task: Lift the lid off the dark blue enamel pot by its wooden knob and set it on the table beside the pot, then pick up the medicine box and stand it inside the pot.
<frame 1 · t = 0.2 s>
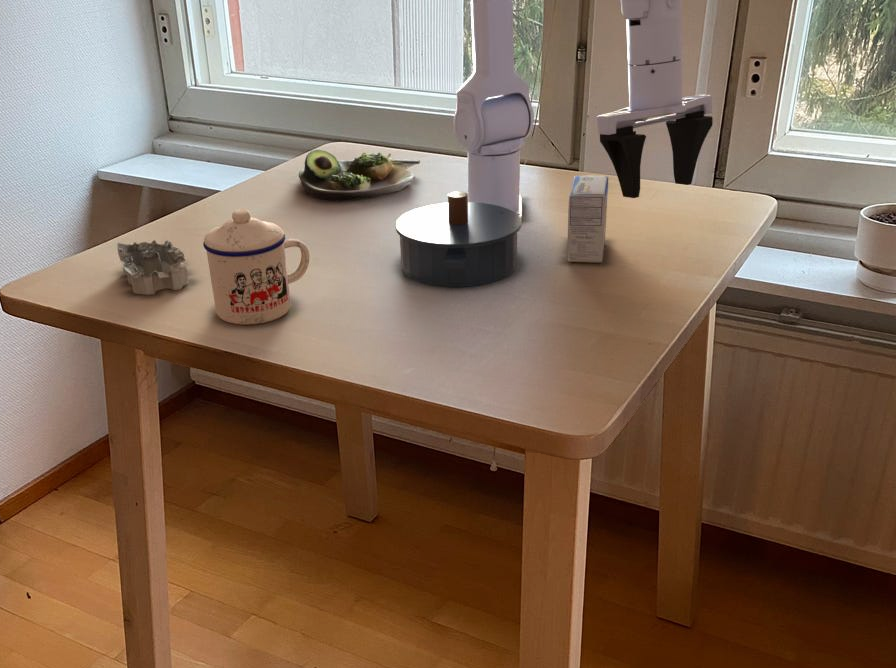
hand: (657, 190, 114), 11 cm above the table, tool pointing down, fingers open, 7 cm apart
pot lid: (458, 225, 123), point 5 cm above the table, touching pot
teacup with lid: (265, 309, 117), on the table
egg carton: (155, 280, 126), on the table
medicine box: (585, 253, 128), on the table
salad plate: (352, 185, 156), on the table
pot: (459, 264, 126), on the table
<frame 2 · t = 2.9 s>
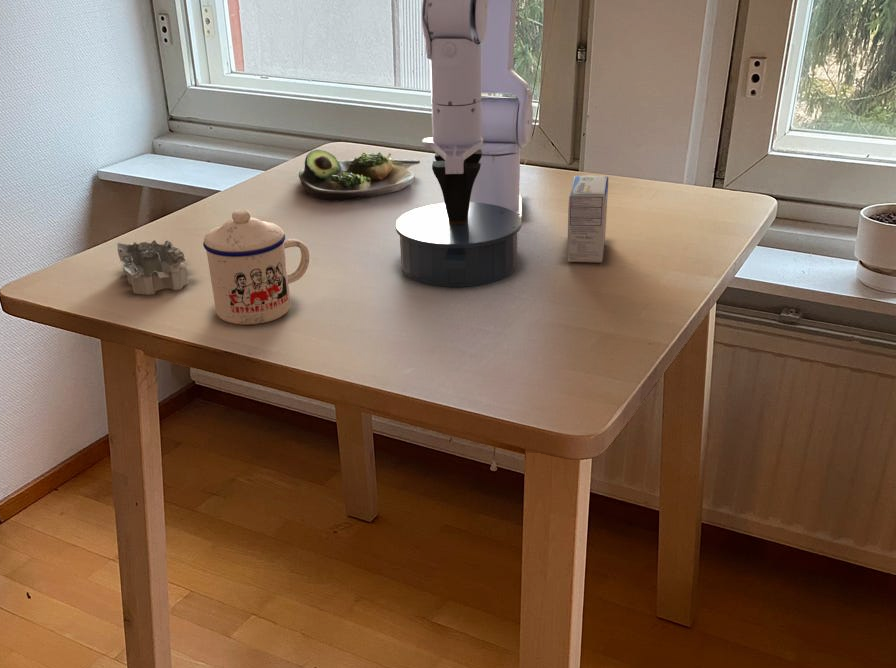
hand: (458, 216, 123), 6 cm above the table, tool pointing down, fingers closed on pot lid, 2 cm apart
pot lid: (458, 225, 123), point 5 cm above the table, touching gripper, pot
everything else where it was.
when the fingers open (2 cm above the table, at t = 7.3 s): pot lid stays where it is, point 1 cm above the table.
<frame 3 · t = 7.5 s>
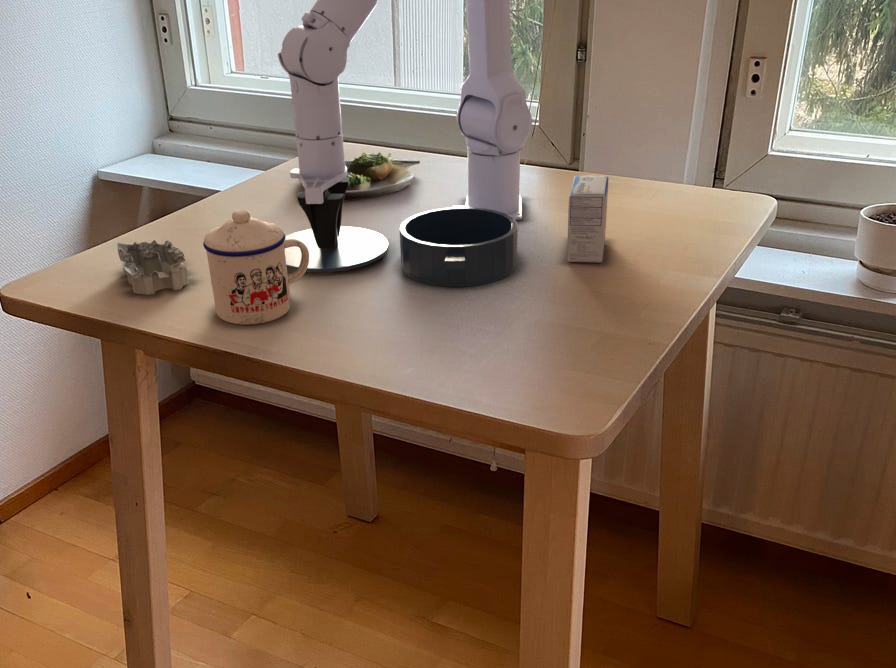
hand: (328, 241, 130), 2 cm above the table, tool pointing down, fingers open, 3 cm apart
pot lid: (329, 250, 131), point 1 cm above the table
everything else where it was.
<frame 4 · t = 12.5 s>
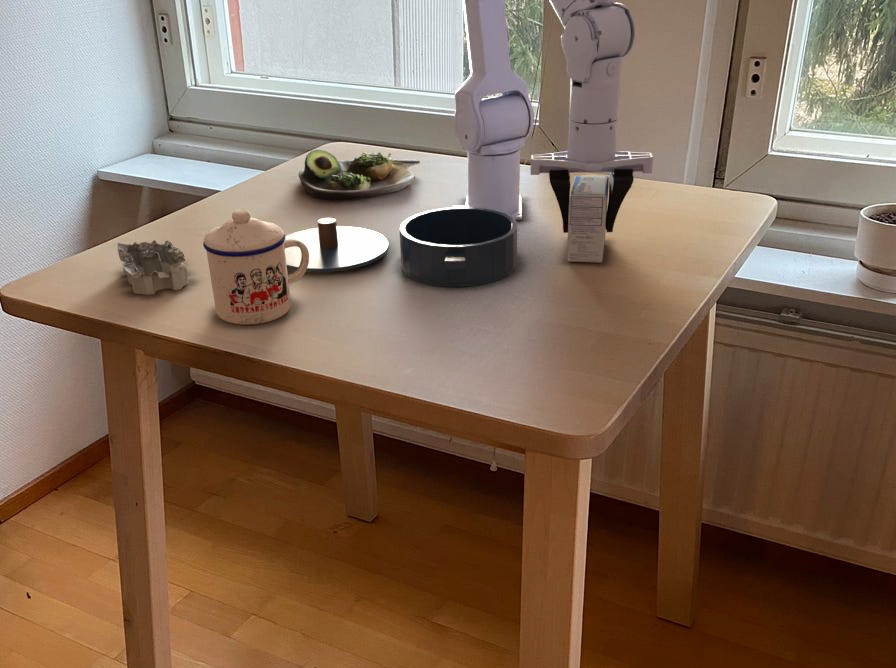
hand: (587, 229, 126), 3 cm above the table, tool pointing down, fingers closed on medicine box, 5 cm apart
medicine box: (585, 253, 128), on the table, touching gripper
everything else where it was.
when the fingers open (3 cm above the table, at t = 17.5 s): medicine box stays where it is, resting on pot.
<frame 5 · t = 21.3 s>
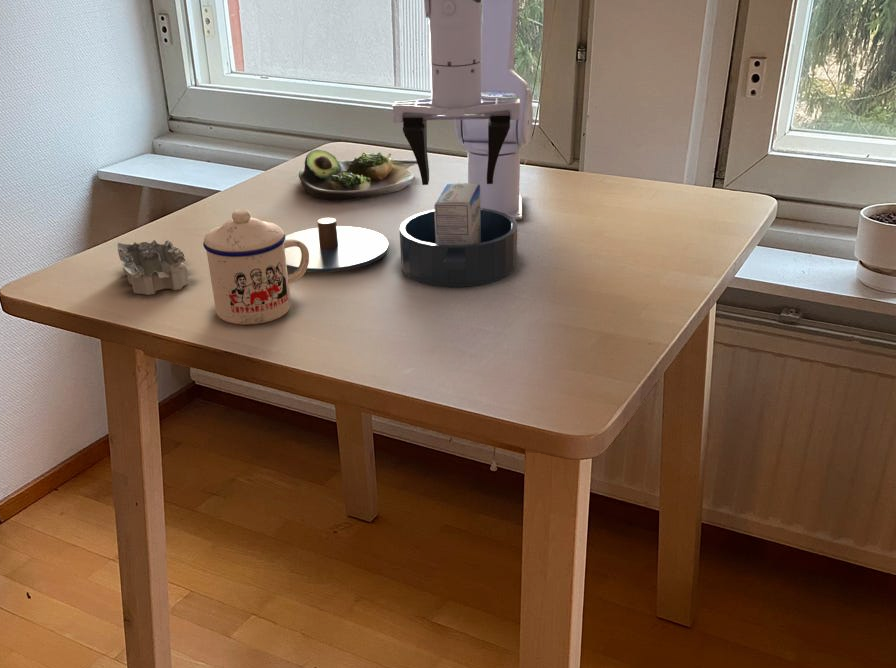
hand: (457, 182, 120), 10 cm above the table, tool pointing down, fingers open, 7 cm apart
medicine box: (459, 262, 126), resting on pot
everything else where it was.
at the end: pot lid inside the target area (0.0 cm from its centre), point 0.6 cm above the table; medicine box inside the target area in the pot (0.0 cm from its centre), point 0.3 cm above the pot's base; medicine box tilted 0° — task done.
